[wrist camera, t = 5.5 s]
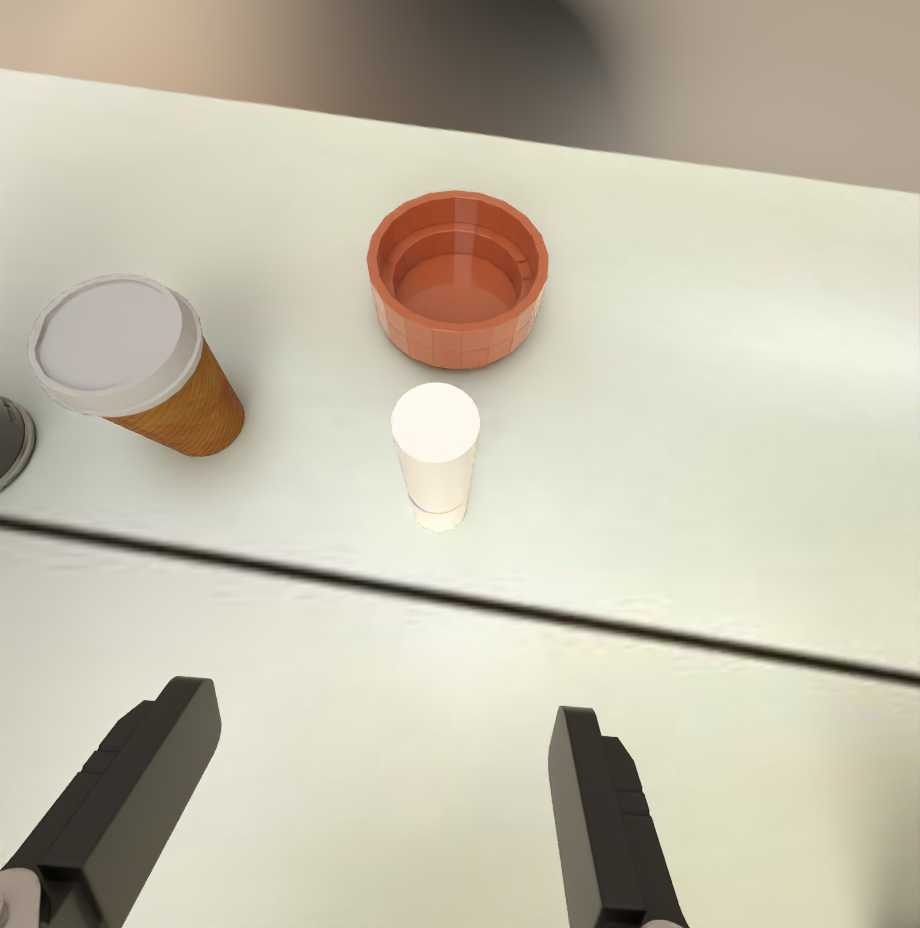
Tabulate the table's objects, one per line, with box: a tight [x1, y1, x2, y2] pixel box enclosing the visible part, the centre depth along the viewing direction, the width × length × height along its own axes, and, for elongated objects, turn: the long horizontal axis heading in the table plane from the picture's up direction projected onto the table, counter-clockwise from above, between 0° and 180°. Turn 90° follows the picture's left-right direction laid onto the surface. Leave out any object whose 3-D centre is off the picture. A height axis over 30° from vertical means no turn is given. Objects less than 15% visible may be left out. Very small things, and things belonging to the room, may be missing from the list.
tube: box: [391, 383, 480, 532], centre depth 29 cm, size 4×4×15 cm
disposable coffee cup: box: [28, 274, 244, 457], centre depth 33 cm, size 10×10×12 cm
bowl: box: [367, 190, 548, 370], centre depth 40 cm, size 15×15×6 cm
